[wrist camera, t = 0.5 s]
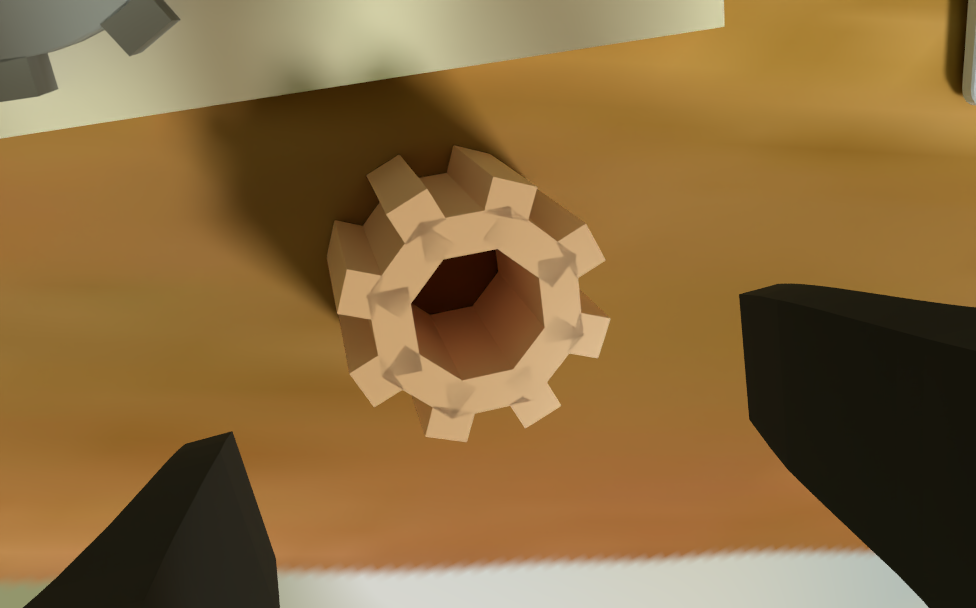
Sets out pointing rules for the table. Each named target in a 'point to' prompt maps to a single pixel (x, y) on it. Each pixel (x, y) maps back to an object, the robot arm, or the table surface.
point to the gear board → (280, 47)
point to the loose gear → (472, 330)
